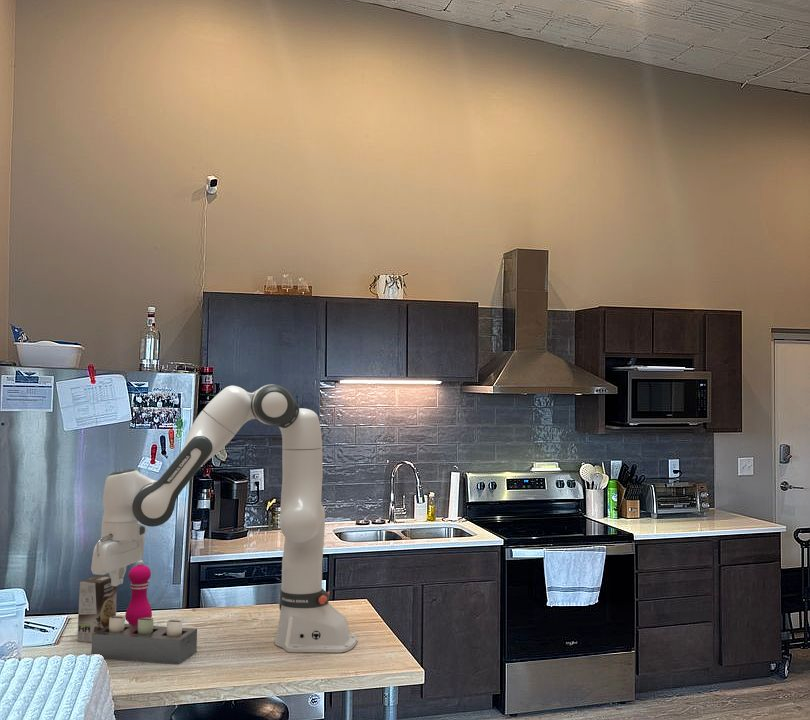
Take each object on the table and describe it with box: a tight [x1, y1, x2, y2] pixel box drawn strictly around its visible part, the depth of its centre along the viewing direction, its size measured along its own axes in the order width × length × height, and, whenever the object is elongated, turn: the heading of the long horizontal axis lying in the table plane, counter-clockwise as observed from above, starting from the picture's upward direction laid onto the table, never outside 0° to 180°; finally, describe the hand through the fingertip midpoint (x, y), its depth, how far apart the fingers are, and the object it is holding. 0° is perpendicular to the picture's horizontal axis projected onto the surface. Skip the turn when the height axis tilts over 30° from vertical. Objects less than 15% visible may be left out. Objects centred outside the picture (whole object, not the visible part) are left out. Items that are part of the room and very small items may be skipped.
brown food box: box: [76, 574, 118, 643], centre depth 220 cm, size 9×6×16 cm
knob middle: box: [138, 617, 154, 635], centre depth 206 cm, size 4×4×5 cm
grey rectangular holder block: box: [91, 623, 198, 665], centre depth 205 cm, size 24×10×6 cm, turn 80°
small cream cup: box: [109, 615, 126, 633], centre depth 207 cm, size 4×4×5 cm
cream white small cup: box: [166, 618, 183, 637], centre depth 204 cm, size 4×4×5 cm
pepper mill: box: [124, 559, 153, 625], centre depth 226 cm, size 7×7×20 cm
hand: (117, 584), depth 207 cm, fingers closed
